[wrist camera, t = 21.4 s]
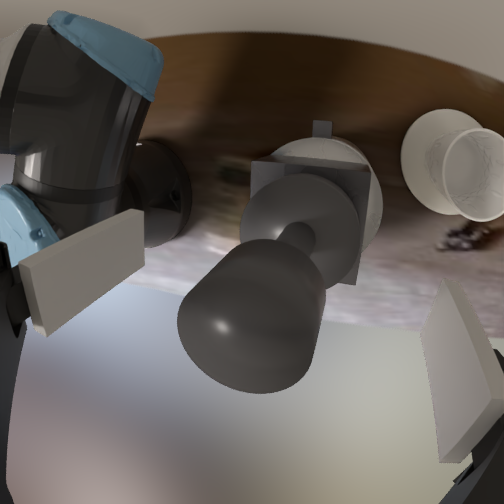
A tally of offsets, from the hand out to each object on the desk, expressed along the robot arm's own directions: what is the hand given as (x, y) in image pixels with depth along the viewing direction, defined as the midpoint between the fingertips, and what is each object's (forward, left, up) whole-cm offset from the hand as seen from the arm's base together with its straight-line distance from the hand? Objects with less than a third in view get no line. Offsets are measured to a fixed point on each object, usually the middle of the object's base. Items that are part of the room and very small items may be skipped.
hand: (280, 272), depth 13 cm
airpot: (0, 0, -26) cm, 26 cm away
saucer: (+8, +12, -26) cm, 30 cm away
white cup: (+8, +12, -25) cm, 29 cm away
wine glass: (0, 0, -11) cm, 11 cm away
